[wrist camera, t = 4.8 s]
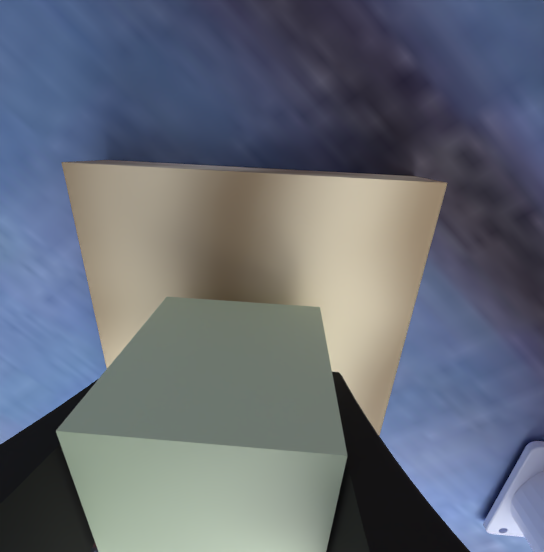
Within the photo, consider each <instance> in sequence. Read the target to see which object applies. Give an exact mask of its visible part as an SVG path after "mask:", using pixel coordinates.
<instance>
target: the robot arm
mask: <svg viewBox="0 0 544 552" xmlns="http://www.w3.org/2000/svg"><path fill="white" fill-rule="evenodd" d="M332 375H333V380H334V386H335V391H336V397H337V402H338V407H339V413H340V418H341V424H342V429H343V434H344V440H345V445H346V451H347V460H346V464H345V469H344V473H343V478H342V483H341V487H340V492H339V496H338V501H337V505H336V510H335V514H334V519H333V523H332V528H331V532H330V537H329V541H328V546H327V550H326V552H470V551H469V550H468V549H467V548H466V546H465V545H464V544H463V543H462V542H461V541H460V540H459V538H458V537H457V536H456V535H455V534H454V533H453V532H452V530H451V529H450V528H449V527H448V526H447V524H446V523H445V522H444V521H443V520H442V518H441V517H440V516H439V515H438V514H437V512H436V511H435V510H434V509H433V508H432V506H431V505H430V504H429V503H428V501H427V500H426V499H425V498H424V496H423V495H422V494H421V493H420V491H419V490H418V489H417V488H416V486H415V485H414V484H413V482H412V481H411V480H410V478H409V477H408V476H407V474H406V473H405V472H404V470H403V469H402V468H401V466H400V465H399V464H398V462H397V461H396V460H395V458H394V457H393V455H392V454H391V453H390V451H389V450H388V448H387V447H386V445H385V444H384V443H383V441H382V440H381V438H380V437H379V435H378V434H377V432H376V431H375V429H374V428H373V426H372V425H371V423H370V422H369V420H368V419H367V417H366V415H365V414H364V412H363V411H362V409H361V407H360V406H359V404H358V403H357V401H356V399H355V398H354V396H353V394H352V392H351V391H350V389H349V387H348V385H347V384H346V382H345V380H344V378H343V376H342V375H341V374H340V373H339V372H332ZM96 382H97V380H96V381H95V382H93V383H92V384H91V385H89V386H88V387H86V388H85V389H83V390H82V391H81V392H79V393H78V394H76V395H75V396H73V397H72V398H71V399H69V400H68V401H66V402H65V403H63V404H62V405H60V406H59V407H58V408H56V409H55V410H53V411H52V412H50V413H48V414H47V415H45V416H44V417H42V418H41V419H39V420H38V421H36V422H35V423H33V424H32V425H30V426H29V427H27V428H25V429H24V430H22V431H21V432H19V433H18V434H16V435H15V436H13V437H12V438H10V439H9V440H7V441H5V442H4V443H2V444H0V552H90V551H91V549H92V547H93V545H94V543H95V541H94V538H93V535H92V532H91V529H90V526H89V524H88V521H87V518H86V515H85V512H84V509H83V507H82V504H81V501H80V498H79V495H78V493H77V490H76V487H75V484H74V481H73V478H72V476H71V473H70V470H69V467H68V464H67V462H66V459H65V456H64V453H63V450H62V447H61V445H60V442H59V439H58V436H57V433H56V430H57V429H58V428H59V426H60V425H61V424H62V423H63V422H64V420H65V419H66V418H67V417H68V416H69V414H70V413H71V412H72V411H73V409H74V408H75V407H76V406H77V405H78V403H79V402H80V401H81V400H82V399H83V397H84V396H85V395H86V394H87V393H88V391H89V390H90V389H91V388H92V386H93V385H94V384H95V383H96ZM483 525H484V527H485V529H486V531H487V532H488V533H490V534H498V535H509V536H520V537H525V538H526V540H527V542H528V543H529V545H530V547H531V548H532V550H533V551H534V552H544V441H533V442H530V443H529V444H527V446H526V447H525V449H524V451H523V452H522V454H521V456H520V458H519V460H518V461H517V463H516V465H515V467H514V469H513V470H512V472H511V474H510V476H509V478H508V479H507V481H506V483H505V485H504V486H503V488H502V490H501V492H500V494H499V495H498V497H497V499H496V501H495V503H494V504H493V506H492V508H491V510H490V512H489V513H488V515H487V517H486V519H485V521H484V523H483Z"/></svg>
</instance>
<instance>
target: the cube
mask: <svg viewBox="0 0 544 552" xmlns="http://www.w3.org/2000/svg"><path fill="white" fill-rule="evenodd" d="M56 433H57V436H58V439H59V442H60V445H61V447H62V450H63V453H64V456H65V459H66V462H67V464H68V467H69V470H70V473H71V476H72V478H73V481H74V484H75V487H76V490H77V493H78V495H79V498H80V501H81V504H82V507H83V509H84V512H85V515H86V518H87V521H88V524H89V526H90V529H91V532H92V535H93V538H94V541H95V543H96V546H97V549H98V552H326V550H327V546H328V541H329V537H330V532H331V528H332V523H333V519H334V514H335V510H336V505H337V501H338V496H339V492H340V487H341V483H342V478H343V473H344V469H345V464H346V460H347V451H346V445H345V440H344V434H343V429H342V424H341V418H340V413H339V407H338V402H337V397H336V391H335V386H334V380H333V375H332V370H331V364H330V359H329V353H328V348H327V342H326V337H325V332H324V326H323V321H322V315H321V310H320V307H312V306H298V305H283V304H268V303H253V302H239V301H224V300H209V299H195V298H180V297H166V298H165V299H164V301H163V302H162V303H161V304H160V305H159V307H158V308H157V309H156V310H155V311H154V313H153V314H152V315H151V316H150V318H149V319H148V320H147V321H146V322H145V324H144V325H143V326H142V327H141V328H140V330H139V331H138V332H137V333H136V334H135V336H134V337H133V338H132V339H131V341H130V342H129V343H128V344H127V345H126V347H125V348H124V349H123V350H122V351H121V353H120V354H119V355H118V356H117V357H116V359H115V360H114V361H113V362H112V363H111V365H110V366H109V367H108V368H107V370H106V371H105V372H104V373H103V374H102V376H101V377H100V378H99V379H98V380H97V382H96V383H95V384H94V385H93V386H92V388H91V389H90V390H89V391H88V393H87V394H86V395H85V396H84V397H83V399H82V400H81V401H80V402H79V403H78V405H77V406H76V407H75V408H74V409H73V411H72V412H71V413H70V414H69V416H68V417H67V418H66V419H65V420H64V422H63V423H62V424H61V425H60V426H59V428H58V429H57V430H56Z"/></svg>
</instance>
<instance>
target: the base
mask: <svg viewBox="0 0 544 552" xmlns="http://www.w3.org/2000/svg"><path fill="white" fill-rule="evenodd" d="M62 166H63V171H64V176H65V180H66V185H67V189H68V194H69V198H70V203H71V208H72V212H73V217H74V221H75V226H76V230H77V235H78V239H79V244H80V249H81V253H82V258H83V262H84V267H85V271H86V276H87V281H88V285H89V290H90V294H91V299H92V303H93V308H94V312H95V317H96V322H97V326H98V331H99V335H100V340H101V344H102V349H103V354H104V358H105V363H106V367H107V368H108V367H109V366H110V365H111V363H112V362H113V361H114V360H115V359H116V357H117V356H118V355H119V354H120V353H121V351H122V350H123V349H124V348H125V347H126V345H127V344H128V343H129V342H130V341H131V339H132V338H133V337H134V336H135V334H136V333H137V332H138V331H139V330H140V328H141V327H142V326H143V325H144V324H145V322H146V321H147V320H148V319H149V318H150V316H151V315H152V314H153V313H154V311H155V310H156V309H157V308H158V307H159V305H160V304H161V303H162V302H163V301H164V299H165V298H166V297H180V298H195V299H209V300H224V301H239V302H253V303H268V304H283V305H298V306H312V307H320V310H321V315H322V321H323V326H324V332H325V337H326V342H327V348H328V353H329V359H330V364H331V370H332V372H339V373H340V374H341V375H342V376H343V378H344V380H345V382H346V384H347V385H348V387H349V389H350V391H351V392H352V394H353V396H354V398H355V399H356V401H357V403H358V404H359V406H360V407H361V409H362V411H363V412H364V414H365V415H366V417H367V419H368V420H369V422H370V423H371V425H372V426H373V428H374V429H375V431H376V432H377V434H378V435H380V431H381V427H382V424H383V420H384V416H385V412H386V409H387V405H388V401H389V398H390V394H391V390H392V386H393V383H394V379H395V375H396V372H397V368H398V364H399V360H400V357H401V353H402V349H403V346H404V342H405V338H406V334H407V331H408V327H409V323H410V320H411V316H412V312H413V308H414V305H415V301H416V297H417V294H418V290H419V286H420V282H421V279H422V275H423V271H424V268H425V264H426V260H427V256H428V253H429V249H430V245H431V242H432V238H433V234H434V230H435V227H436V223H437V219H438V216H439V212H440V208H441V204H442V201H443V197H444V193H445V190H446V186H447V183H445V182H441V181H436V180H431V179H426V178H421V177H416V176H401V175H383V174H364V173H345V172H326V171H307V170H288V169H269V168H250V167H231V166H212V165H193V164H174V163H155V162H137V161H118V160H96V161H77V162H62Z"/></svg>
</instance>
